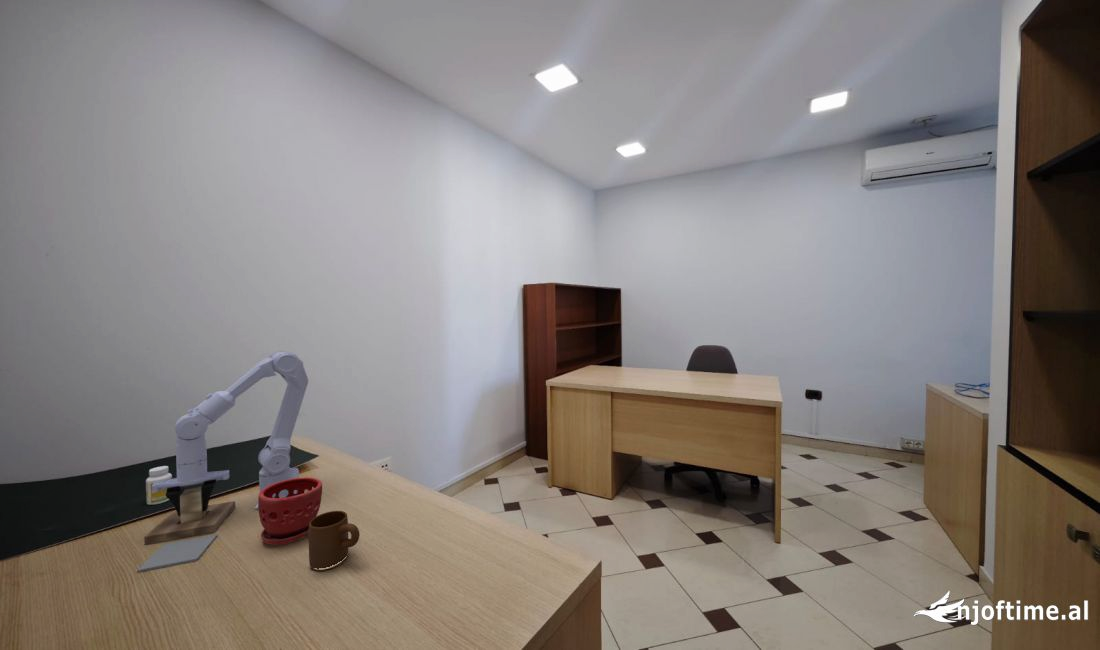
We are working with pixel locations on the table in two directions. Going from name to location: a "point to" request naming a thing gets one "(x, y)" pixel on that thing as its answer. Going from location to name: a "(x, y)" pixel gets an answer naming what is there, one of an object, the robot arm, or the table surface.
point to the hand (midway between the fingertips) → (193, 512)
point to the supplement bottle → (155, 476)
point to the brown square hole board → (190, 524)
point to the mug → (330, 538)
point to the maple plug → (191, 505)
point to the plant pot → (288, 509)
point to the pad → (178, 553)
